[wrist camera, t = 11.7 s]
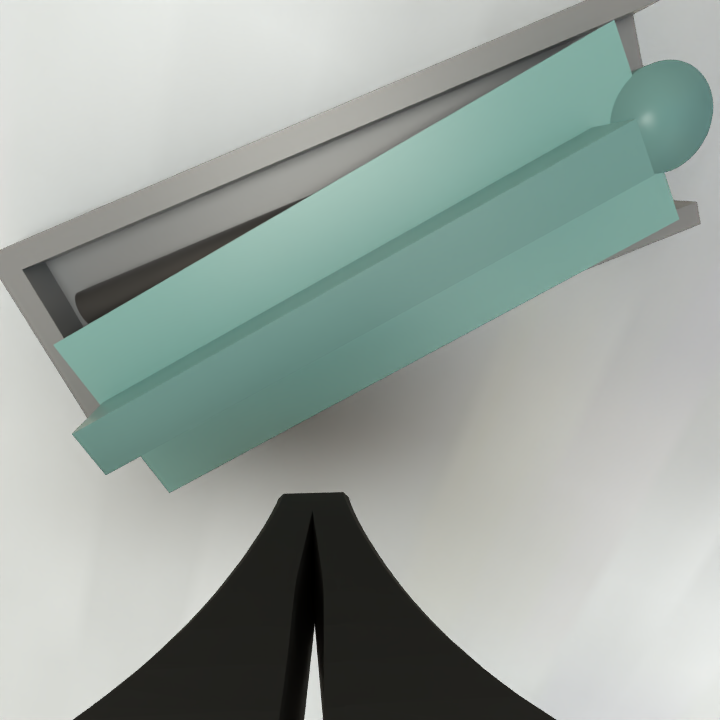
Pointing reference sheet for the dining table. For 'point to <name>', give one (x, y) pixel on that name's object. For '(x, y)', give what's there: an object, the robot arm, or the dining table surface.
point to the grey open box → (271, 184)
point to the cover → (391, 260)
